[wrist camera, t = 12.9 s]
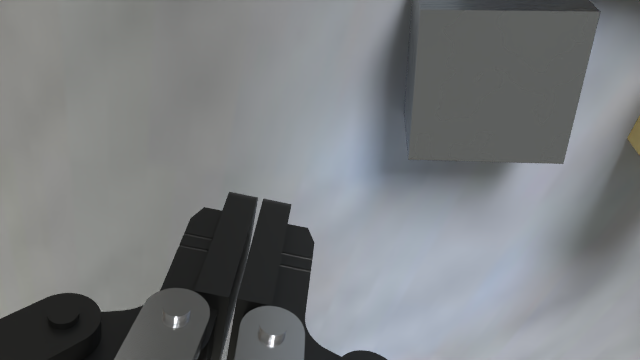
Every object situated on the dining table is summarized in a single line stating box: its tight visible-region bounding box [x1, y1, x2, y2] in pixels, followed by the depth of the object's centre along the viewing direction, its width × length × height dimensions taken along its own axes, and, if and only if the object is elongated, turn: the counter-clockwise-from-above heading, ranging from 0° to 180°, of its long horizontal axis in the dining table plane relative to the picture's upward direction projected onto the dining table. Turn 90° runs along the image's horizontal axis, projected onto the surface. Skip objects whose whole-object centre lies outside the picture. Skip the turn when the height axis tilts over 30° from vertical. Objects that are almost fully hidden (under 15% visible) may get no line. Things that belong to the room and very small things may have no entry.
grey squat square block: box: [404, 0, 600, 164], centre depth 28 cm, size 7×7×5 cm
